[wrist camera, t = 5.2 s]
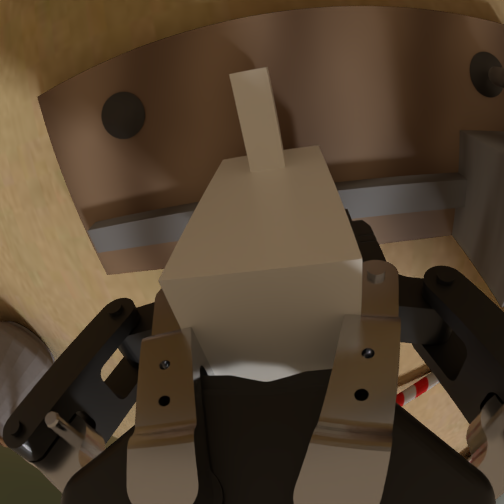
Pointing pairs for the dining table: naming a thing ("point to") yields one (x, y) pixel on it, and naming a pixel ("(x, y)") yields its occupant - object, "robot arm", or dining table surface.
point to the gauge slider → (266, 253)
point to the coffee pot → (19, 367)
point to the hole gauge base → (295, 126)
